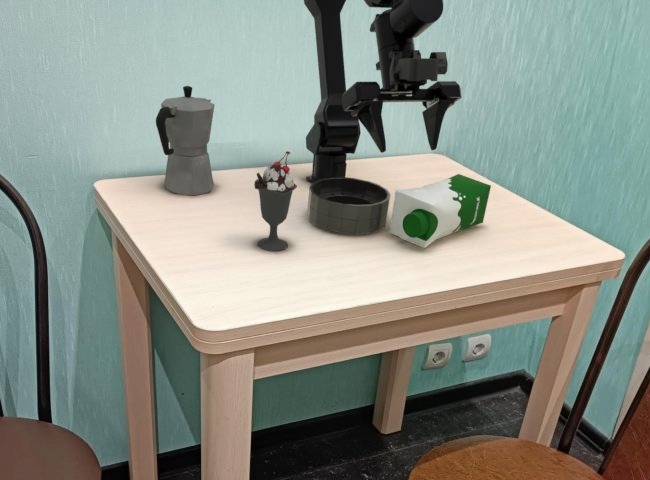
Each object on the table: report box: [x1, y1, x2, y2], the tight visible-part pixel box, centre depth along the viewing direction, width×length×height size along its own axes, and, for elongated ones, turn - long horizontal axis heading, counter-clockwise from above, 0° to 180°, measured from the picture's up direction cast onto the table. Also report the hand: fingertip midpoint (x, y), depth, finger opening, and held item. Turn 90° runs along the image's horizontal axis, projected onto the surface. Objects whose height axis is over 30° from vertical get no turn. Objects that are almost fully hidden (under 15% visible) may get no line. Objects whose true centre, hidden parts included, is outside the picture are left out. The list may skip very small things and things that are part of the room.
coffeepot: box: [155, 85, 215, 196], centre depth 136 cm, size 15×9×18 cm, turn 153°
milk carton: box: [389, 173, 492, 249], centre depth 131 cm, size 9×9×20 cm
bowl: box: [306, 176, 391, 235], centre depth 133 cm, size 14×14×6 cm
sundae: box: [253, 151, 298, 252], centre depth 119 cm, size 7×7×15 cm
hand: (409, 150), depth 121 cm, fingers open, 9 cm apart
